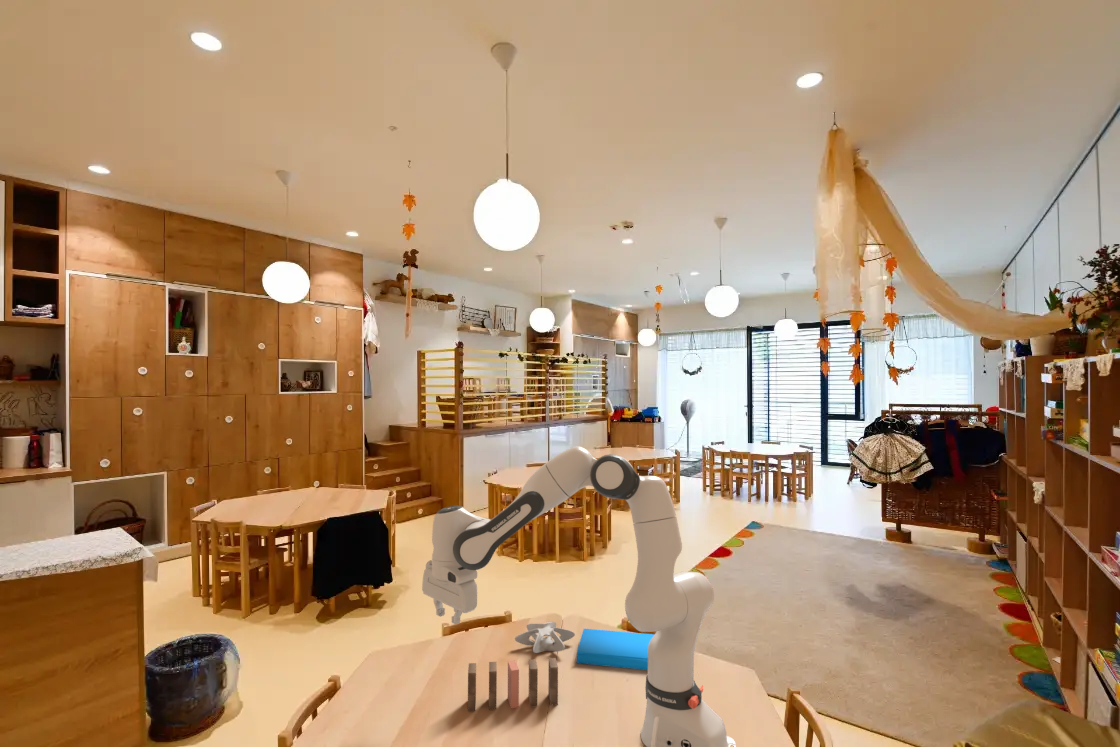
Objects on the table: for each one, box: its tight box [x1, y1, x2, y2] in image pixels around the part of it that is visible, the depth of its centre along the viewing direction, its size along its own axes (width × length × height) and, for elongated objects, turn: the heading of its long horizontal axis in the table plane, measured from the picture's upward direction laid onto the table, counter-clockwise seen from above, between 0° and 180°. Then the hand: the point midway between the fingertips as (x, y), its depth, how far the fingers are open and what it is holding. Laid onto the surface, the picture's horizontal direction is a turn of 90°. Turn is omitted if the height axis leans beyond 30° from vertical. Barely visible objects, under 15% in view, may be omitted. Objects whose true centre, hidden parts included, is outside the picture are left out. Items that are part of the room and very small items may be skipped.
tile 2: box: [488, 661, 498, 711], centre depth 146 cm, size 2×5×10 cm, turn 7°
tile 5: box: [547, 657, 559, 706], centre depth 148 cm, size 2×5×10 cm, turn 7°
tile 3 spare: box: [507, 660, 520, 709], centre depth 147 cm, size 2×5×10 cm, turn 17°
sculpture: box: [514, 621, 576, 654], centre depth 179 cm, size 18×20×6 cm
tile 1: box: [467, 662, 477, 712], centre depth 145 cm, size 2×5×10 cm, turn 7°
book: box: [576, 628, 655, 671], centre depth 173 cm, size 17×4×25 cm
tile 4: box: [528, 658, 539, 708], centre depth 148 cm, size 2×5×10 cm, turn 7°
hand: (448, 619), depth 145 cm, fingers open, 5 cm apart
